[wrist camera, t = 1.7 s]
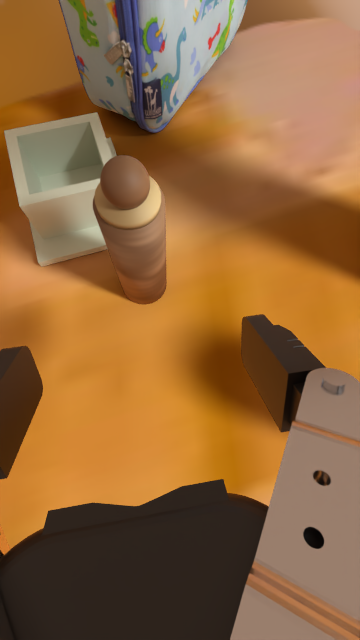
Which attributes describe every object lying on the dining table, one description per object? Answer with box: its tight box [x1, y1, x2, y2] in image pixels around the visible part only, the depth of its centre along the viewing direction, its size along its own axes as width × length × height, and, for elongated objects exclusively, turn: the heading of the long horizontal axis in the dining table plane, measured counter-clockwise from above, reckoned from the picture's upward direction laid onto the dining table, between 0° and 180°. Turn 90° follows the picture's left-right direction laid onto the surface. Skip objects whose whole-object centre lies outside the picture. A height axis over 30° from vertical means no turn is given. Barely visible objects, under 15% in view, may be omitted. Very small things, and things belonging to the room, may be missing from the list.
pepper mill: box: [93, 155, 166, 304], centre depth 22 cm, size 4×4×15 cm
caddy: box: [4, 112, 117, 267], centre depth 29 cm, size 11×14×6 cm
